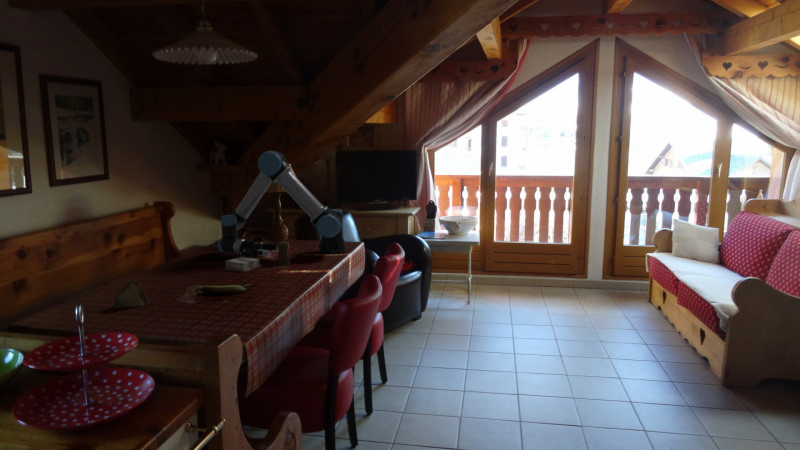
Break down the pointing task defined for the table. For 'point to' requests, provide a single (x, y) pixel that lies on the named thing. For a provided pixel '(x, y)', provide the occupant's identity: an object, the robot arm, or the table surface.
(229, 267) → the white stand
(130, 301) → the rock
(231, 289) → the brown green uneven piece
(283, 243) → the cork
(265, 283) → the table surface
